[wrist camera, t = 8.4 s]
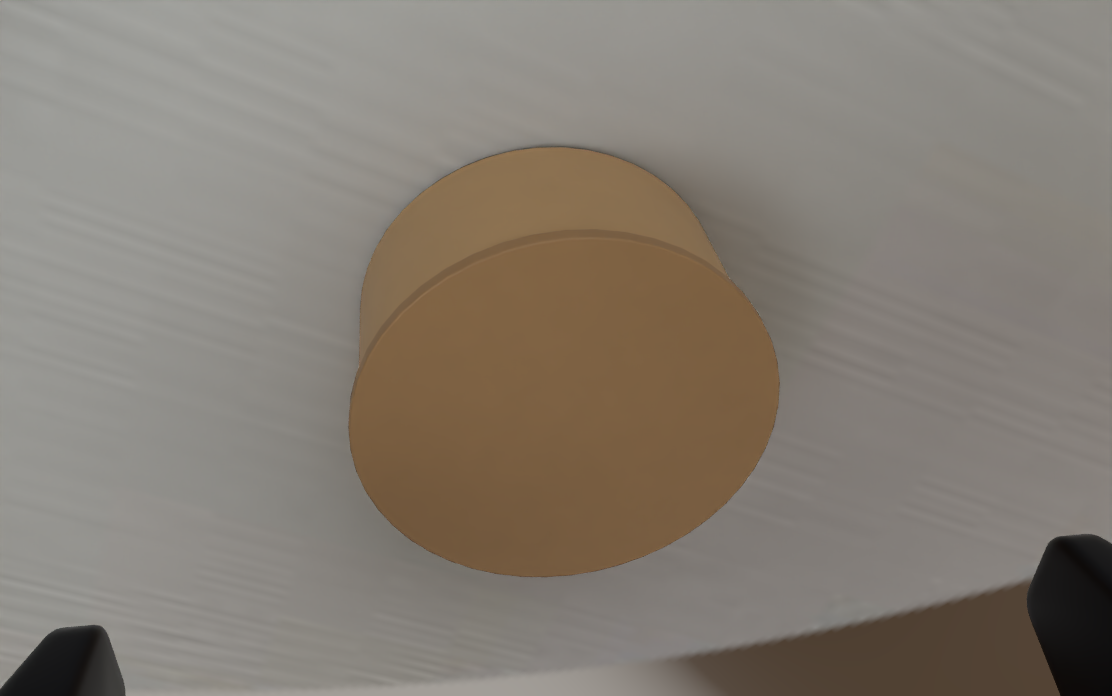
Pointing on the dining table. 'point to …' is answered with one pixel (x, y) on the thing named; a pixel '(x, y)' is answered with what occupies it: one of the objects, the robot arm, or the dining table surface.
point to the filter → (554, 367)
